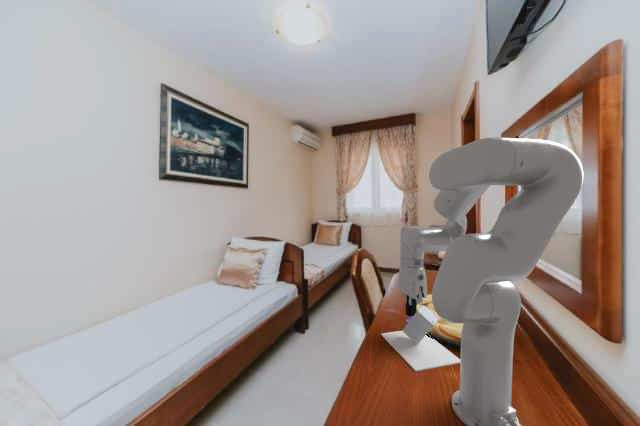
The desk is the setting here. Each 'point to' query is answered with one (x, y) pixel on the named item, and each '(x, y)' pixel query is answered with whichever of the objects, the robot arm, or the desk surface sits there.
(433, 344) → the white mat
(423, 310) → the skincare box
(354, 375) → the desk surface
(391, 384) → the desk surface
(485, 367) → the robot arm
